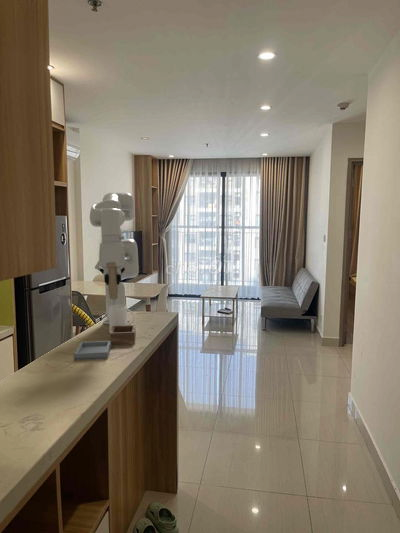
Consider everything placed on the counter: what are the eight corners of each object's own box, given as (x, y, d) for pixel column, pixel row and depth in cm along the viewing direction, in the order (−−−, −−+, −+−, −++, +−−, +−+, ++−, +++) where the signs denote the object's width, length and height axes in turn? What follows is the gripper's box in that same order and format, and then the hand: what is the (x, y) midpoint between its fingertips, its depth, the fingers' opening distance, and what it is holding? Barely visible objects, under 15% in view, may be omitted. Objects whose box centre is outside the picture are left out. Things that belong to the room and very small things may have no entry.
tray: (81, 347, 159) (80, 341, 158) (111, 346, 160) (111, 340, 160) (74, 360, 145) (74, 354, 145) (107, 358, 146) (107, 352, 146)
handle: (121, 297, 163) (120, 261, 162) (117, 300, 157) (115, 263, 155) (110, 297, 164) (108, 261, 162) (105, 300, 157) (103, 263, 156)
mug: (137, 329, 184) (136, 304, 182) (131, 335, 175) (130, 309, 174) (113, 328, 185) (112, 304, 184) (106, 334, 177) (105, 308, 175)
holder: (112, 337, 172) (112, 326, 172) (135, 336, 174) (135, 325, 173) (110, 345, 162) (109, 333, 161) (134, 344, 163) (134, 332, 162)
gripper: (132, 238, 162) (133, 282, 165) (91, 239, 160) (93, 283, 162) (131, 239, 155) (133, 285, 157) (88, 240, 153) (90, 286, 155)
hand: (112, 283), depth 160 cm, fingers closed on handle, 3 cm apart
